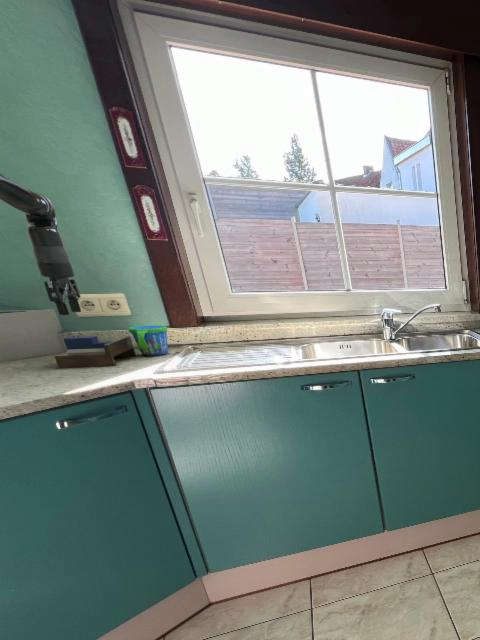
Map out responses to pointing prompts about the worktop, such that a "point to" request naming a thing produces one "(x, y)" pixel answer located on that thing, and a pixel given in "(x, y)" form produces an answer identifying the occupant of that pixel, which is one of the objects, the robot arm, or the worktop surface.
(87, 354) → the wooden display stand
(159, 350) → the snack cup
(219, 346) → the worktop surface
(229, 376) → the worktop surface
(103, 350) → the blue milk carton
